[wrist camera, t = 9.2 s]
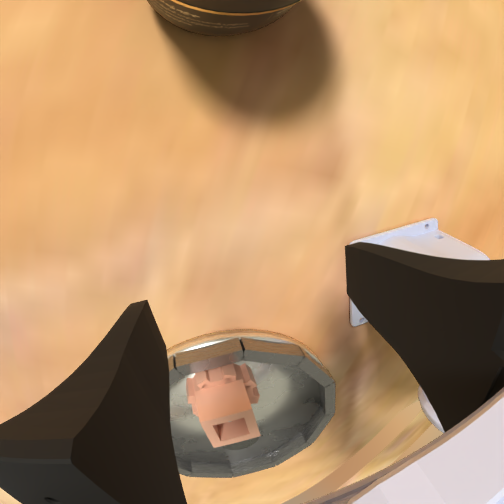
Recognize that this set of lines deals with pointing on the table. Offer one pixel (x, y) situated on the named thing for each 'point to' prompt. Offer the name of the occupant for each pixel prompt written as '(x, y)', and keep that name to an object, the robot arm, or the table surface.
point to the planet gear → (225, 403)
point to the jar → (221, 14)
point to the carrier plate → (265, 411)
